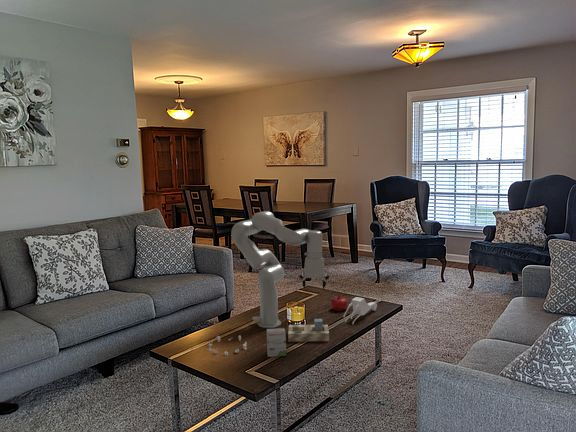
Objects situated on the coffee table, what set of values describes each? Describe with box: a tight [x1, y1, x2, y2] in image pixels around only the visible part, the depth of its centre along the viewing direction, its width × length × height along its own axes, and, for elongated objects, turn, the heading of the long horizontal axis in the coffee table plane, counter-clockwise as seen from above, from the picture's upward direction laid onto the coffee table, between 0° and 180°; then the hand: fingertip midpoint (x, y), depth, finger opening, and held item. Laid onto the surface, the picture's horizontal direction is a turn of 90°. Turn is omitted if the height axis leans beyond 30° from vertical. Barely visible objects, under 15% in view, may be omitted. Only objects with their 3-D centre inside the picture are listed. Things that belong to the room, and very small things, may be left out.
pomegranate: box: [330, 294, 349, 312], centre depth 272 cm, size 10×10×9 cm
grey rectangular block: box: [313, 318, 324, 331], centre depth 231 cm, size 4×4×8 cm
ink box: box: [266, 327, 287, 358], centre depth 211 cm, size 9×5×12 cm, turn 96°
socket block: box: [287, 324, 330, 342], centre depth 231 cm, size 20×12×4 cm, turn 88°
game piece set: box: [207, 334, 248, 356], centre depth 221 cm, size 19×20×4 cm
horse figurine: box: [342, 296, 378, 325], centre depth 259 cm, size 6×18×28 cm
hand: (314, 288), depth 234 cm, fingers open, 9 cm apart
